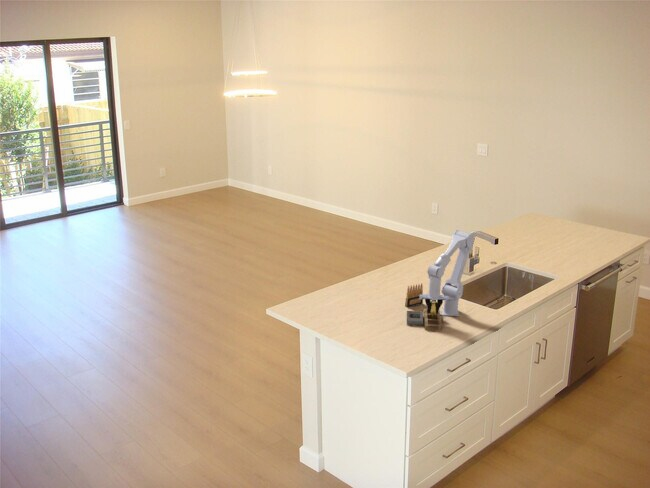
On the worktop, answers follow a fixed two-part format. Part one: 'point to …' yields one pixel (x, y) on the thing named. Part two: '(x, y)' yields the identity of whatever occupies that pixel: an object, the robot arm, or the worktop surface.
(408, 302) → the ammunition clip
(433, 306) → the brass round bar
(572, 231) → the worktop surface
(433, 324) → the walnut rack
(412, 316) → the steel socket
